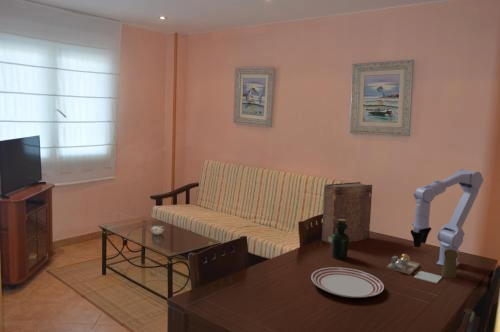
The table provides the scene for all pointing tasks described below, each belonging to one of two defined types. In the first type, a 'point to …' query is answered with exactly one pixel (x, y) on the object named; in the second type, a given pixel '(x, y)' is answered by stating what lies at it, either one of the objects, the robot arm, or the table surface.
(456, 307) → the table surface
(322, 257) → the table surface
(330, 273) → the dinner plate
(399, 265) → the shaft
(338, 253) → the potion bottle
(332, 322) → the table surface
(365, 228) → the book
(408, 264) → the shaft bracket
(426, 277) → the pale green mat
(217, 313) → the table surface
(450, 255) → the olive stepped cylinder
